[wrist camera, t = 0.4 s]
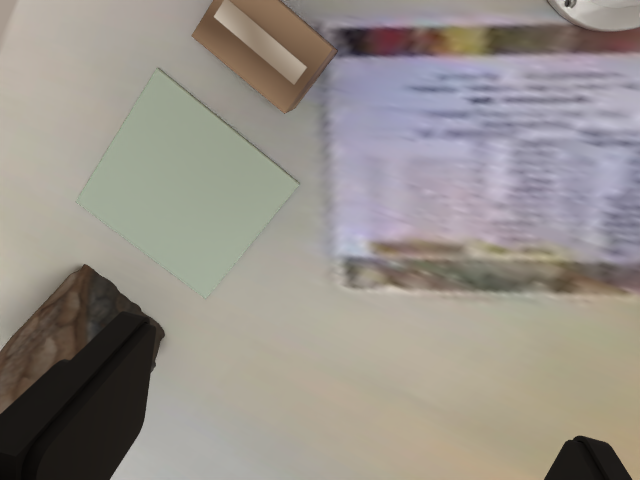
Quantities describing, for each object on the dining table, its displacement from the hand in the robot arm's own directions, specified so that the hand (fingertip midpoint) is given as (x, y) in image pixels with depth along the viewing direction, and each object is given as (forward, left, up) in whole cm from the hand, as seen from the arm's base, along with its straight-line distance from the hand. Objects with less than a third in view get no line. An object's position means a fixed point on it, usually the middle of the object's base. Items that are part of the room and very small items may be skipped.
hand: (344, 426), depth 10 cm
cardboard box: (-2, -12, -34) cm, 36 cm away
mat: (+14, -11, -34) cm, 38 cm away
